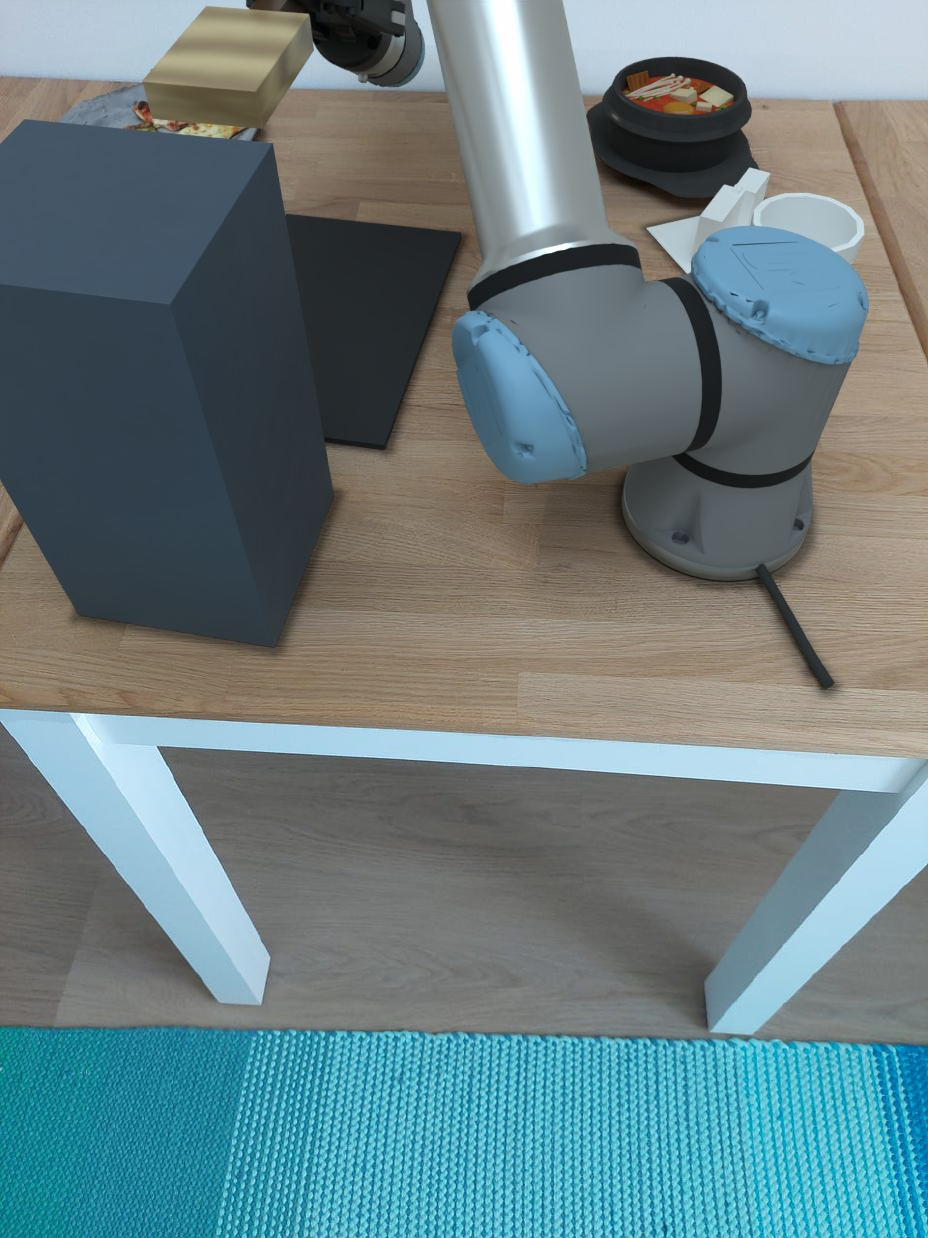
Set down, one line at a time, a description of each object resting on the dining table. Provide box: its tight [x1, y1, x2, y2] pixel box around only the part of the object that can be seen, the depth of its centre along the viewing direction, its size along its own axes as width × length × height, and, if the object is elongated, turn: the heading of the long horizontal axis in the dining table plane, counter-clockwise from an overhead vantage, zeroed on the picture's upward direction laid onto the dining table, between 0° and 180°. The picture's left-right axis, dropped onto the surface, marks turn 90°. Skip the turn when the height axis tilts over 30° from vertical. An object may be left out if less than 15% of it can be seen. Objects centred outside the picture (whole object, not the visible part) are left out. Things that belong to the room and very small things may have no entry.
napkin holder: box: [645, 168, 771, 275], centre depth 99 cm, size 15×11×6 cm
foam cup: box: [750, 192, 865, 266], centre depth 85 cm, size 10×9×13 cm
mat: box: [285, 213, 462, 451], centre depth 93 cm, size 34×20×1 cm, turn 169°
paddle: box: [141, 0, 315, 130], centre depth 69 cm, size 24×8×2 cm, turn 169°
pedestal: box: [0, 118, 335, 648], centre depth 64 cm, size 16×16×30 cm
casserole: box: [586, 56, 761, 199], centre depth 108 cm, size 25×19×8 cm
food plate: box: [58, 82, 261, 141], centre depth 113 cm, size 25×23×4 cm
